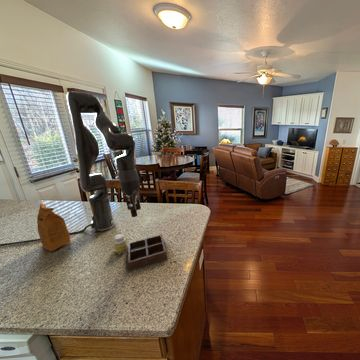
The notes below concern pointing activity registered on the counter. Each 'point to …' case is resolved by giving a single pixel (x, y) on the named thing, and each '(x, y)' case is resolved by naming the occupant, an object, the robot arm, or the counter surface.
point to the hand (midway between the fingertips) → (136, 212)
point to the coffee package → (51, 229)
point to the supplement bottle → (120, 244)
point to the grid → (146, 252)
